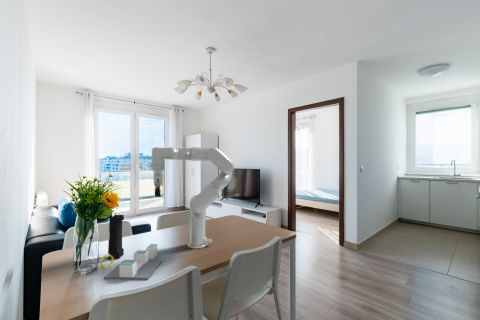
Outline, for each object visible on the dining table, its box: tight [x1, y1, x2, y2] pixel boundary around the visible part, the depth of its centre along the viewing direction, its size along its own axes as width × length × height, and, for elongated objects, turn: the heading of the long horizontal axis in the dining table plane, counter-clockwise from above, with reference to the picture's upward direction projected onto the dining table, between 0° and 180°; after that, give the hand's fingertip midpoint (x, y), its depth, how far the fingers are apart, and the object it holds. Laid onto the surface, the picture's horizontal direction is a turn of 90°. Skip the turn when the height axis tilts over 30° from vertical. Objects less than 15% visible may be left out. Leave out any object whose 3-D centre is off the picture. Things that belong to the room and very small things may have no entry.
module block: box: [145, 243, 158, 260], centre depth 127 cm, size 4×6×6 cm, turn 179°
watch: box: [99, 253, 115, 269], centre depth 115 cm, size 6×3×6 cm, turn 143°
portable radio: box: [107, 212, 125, 260], centre depth 127 cm, size 8×6×25 cm
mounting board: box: [103, 249, 163, 281], centre depth 112 cm, size 20×18×6 cm
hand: (157, 195), depth 141 cm, fingers open, 9 cm apart
